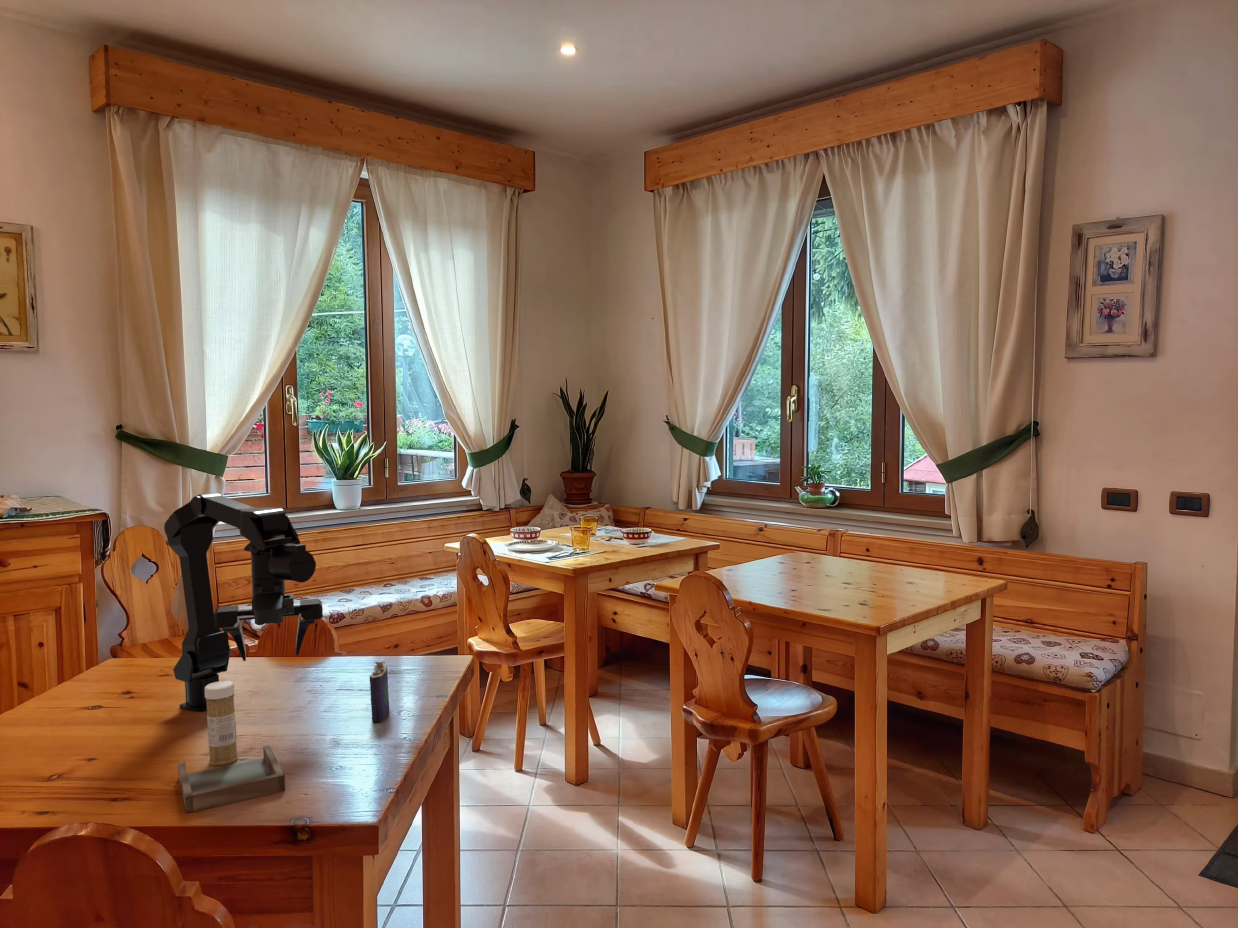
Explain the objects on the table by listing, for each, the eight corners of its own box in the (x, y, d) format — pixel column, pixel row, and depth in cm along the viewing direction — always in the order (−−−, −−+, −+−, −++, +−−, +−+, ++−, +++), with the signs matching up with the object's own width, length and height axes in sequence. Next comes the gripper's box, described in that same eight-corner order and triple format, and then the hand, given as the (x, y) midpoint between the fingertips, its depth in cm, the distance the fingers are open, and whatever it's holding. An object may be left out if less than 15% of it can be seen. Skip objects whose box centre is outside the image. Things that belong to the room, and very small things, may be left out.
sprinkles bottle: (237, 753, 151) (233, 678, 150) (238, 763, 147) (234, 685, 146) (208, 758, 149) (204, 682, 148) (208, 768, 145) (204, 690, 144)
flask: (376, 707, 173) (374, 654, 172) (392, 706, 173) (390, 653, 172) (370, 724, 164) (368, 668, 163) (386, 723, 164) (384, 667, 163)
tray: (178, 778, 141) (178, 763, 141) (270, 758, 148) (269, 744, 148) (186, 813, 129) (185, 796, 128) (285, 790, 136) (284, 774, 136)
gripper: (209, 589, 151) (213, 676, 152) (322, 580, 157) (325, 664, 159) (214, 576, 161) (218, 658, 162) (320, 569, 168) (322, 647, 169)
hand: (271, 657), depth 163 cm, fingers open, 9 cm apart
